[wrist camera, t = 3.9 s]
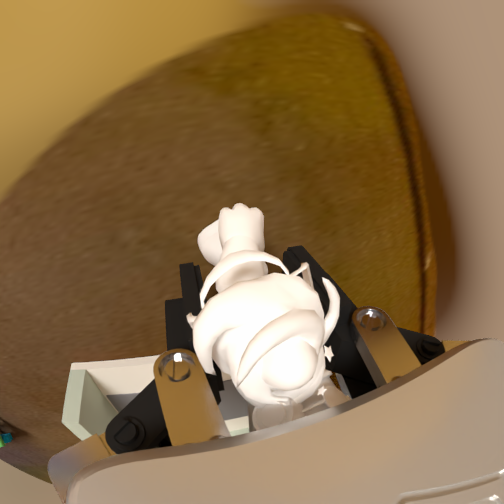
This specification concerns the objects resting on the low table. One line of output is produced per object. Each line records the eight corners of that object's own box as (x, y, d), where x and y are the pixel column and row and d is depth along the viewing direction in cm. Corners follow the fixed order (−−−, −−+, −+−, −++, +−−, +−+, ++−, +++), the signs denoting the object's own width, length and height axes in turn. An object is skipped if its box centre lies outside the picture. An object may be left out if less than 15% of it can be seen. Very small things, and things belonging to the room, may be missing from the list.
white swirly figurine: (152, 191, 11) (180, 587, 1) (239, 154, 11) (542, 392, 1) (227, 332, 16) (309, 533, 6) (288, 304, 16) (405, 485, 6)
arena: (287, 331, 17) (317, 387, 13) (278, 419, 24) (294, 457, 20) (71, 363, 14) (61, 422, 10) (135, 442, 20) (139, 482, 17)
